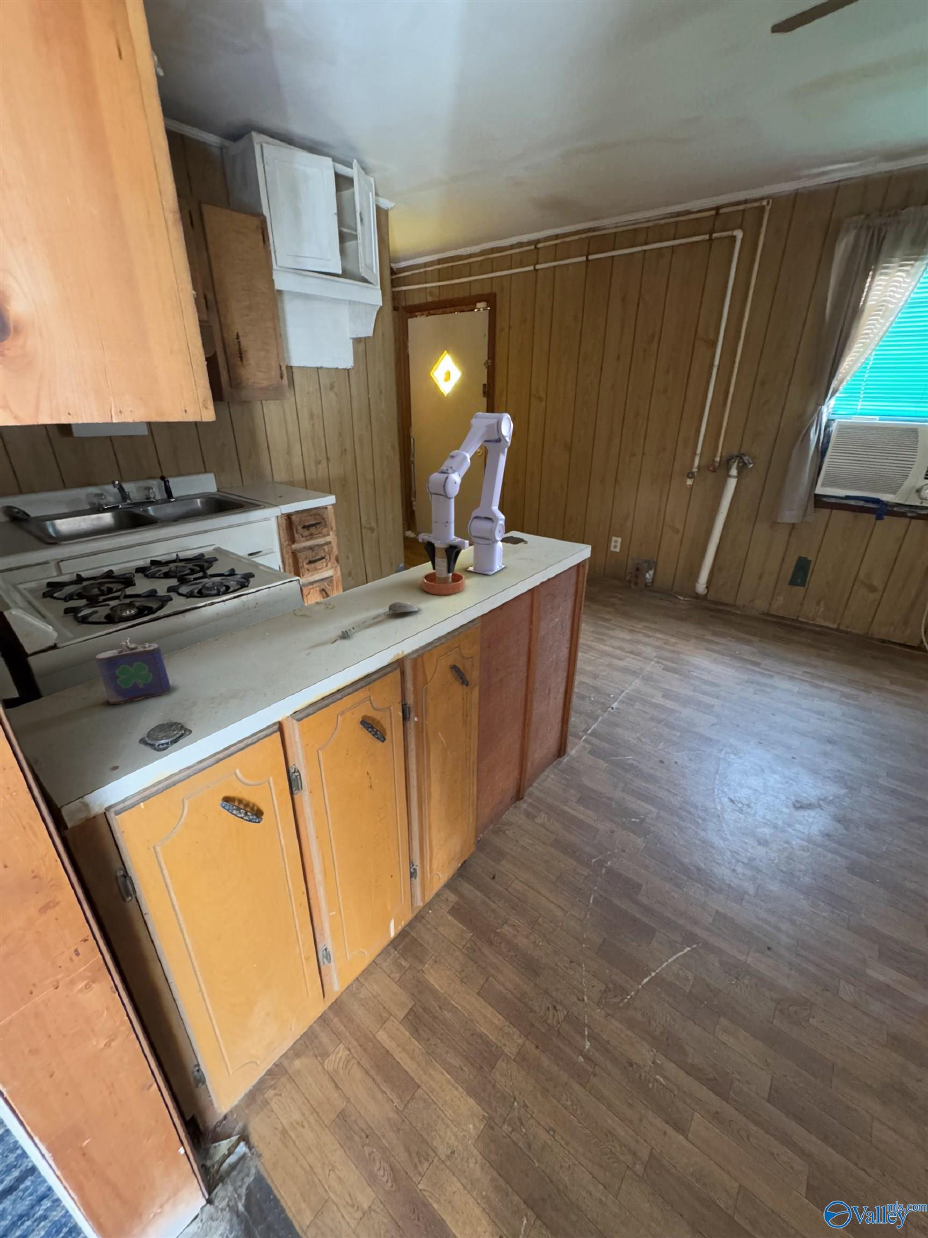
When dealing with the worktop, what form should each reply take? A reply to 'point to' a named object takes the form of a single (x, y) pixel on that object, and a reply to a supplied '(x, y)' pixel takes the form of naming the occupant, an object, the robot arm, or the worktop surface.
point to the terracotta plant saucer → (443, 589)
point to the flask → (133, 672)
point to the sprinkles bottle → (441, 564)
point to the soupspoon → (393, 608)
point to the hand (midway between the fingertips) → (443, 570)
